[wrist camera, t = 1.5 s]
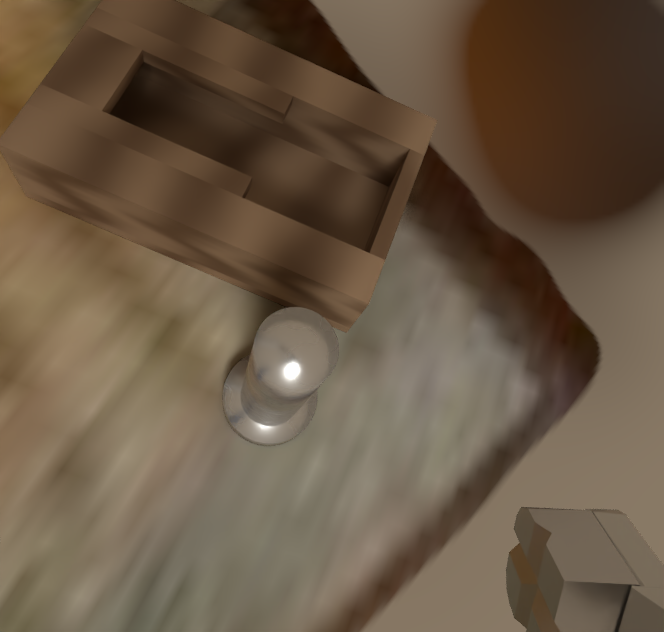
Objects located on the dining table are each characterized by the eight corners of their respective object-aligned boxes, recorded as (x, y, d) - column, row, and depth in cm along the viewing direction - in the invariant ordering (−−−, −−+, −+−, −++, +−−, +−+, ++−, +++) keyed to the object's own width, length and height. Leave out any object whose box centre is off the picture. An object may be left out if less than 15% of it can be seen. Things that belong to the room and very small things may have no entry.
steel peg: (206, 424, 34) (207, 381, 23) (244, 341, 36) (261, 265, 25) (294, 460, 35) (335, 435, 24) (326, 375, 37) (378, 315, 26)
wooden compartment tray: (409, 167, 43) (437, 120, 38) (346, 332, 38) (368, 304, 33) (130, 42, 42) (120, -25, 37) (26, 196, 37) (-4, 143, 31)
